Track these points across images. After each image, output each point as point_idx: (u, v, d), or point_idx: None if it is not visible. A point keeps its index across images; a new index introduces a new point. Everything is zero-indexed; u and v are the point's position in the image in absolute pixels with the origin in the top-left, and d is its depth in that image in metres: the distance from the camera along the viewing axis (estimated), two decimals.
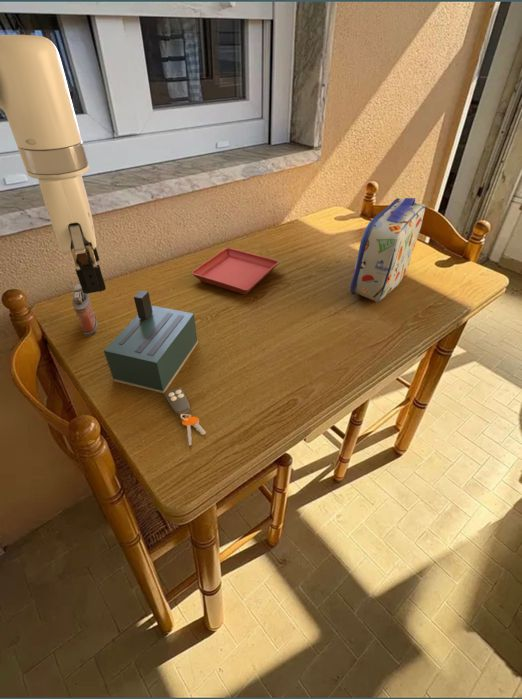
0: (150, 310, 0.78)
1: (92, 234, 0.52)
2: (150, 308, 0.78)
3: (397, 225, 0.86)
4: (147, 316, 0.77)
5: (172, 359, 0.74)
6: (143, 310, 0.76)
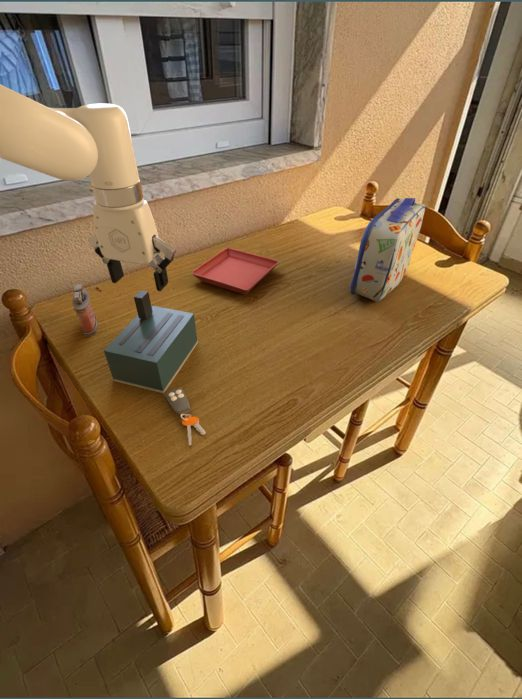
0: (150, 310, 0.78)
1: None
2: (150, 308, 0.78)
3: (397, 225, 0.86)
4: (147, 316, 0.77)
5: (172, 359, 0.74)
6: (143, 310, 0.76)
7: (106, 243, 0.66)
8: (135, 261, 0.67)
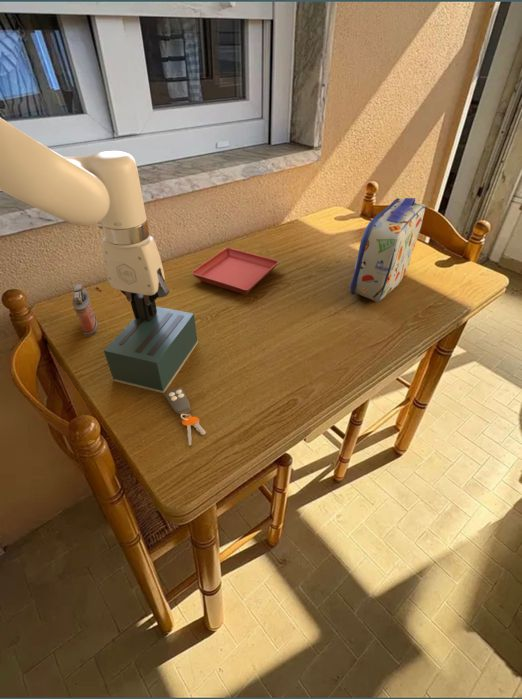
0: None
1: (163, 273, 0.73)
2: None
3: (397, 225, 0.86)
4: None
5: (172, 359, 0.74)
6: (143, 310, 0.76)
7: (114, 275, 0.70)
8: (141, 292, 0.71)
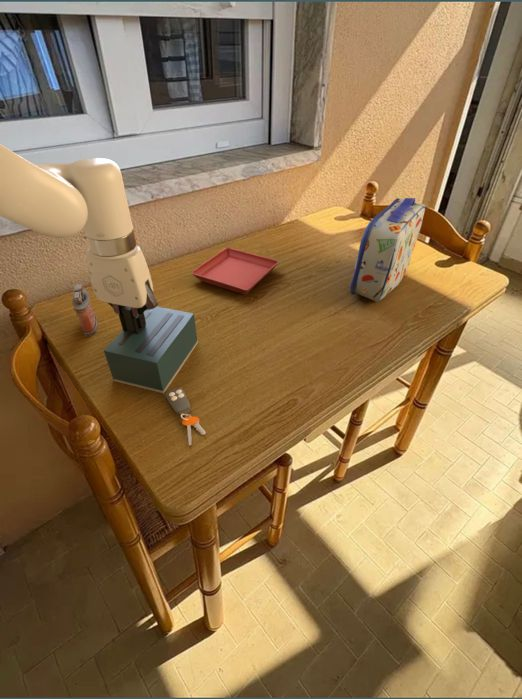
0: None
1: None
2: None
3: (397, 225, 0.86)
4: None
5: (172, 359, 0.74)
6: (131, 322, 0.73)
7: (100, 287, 0.67)
8: (128, 305, 0.68)
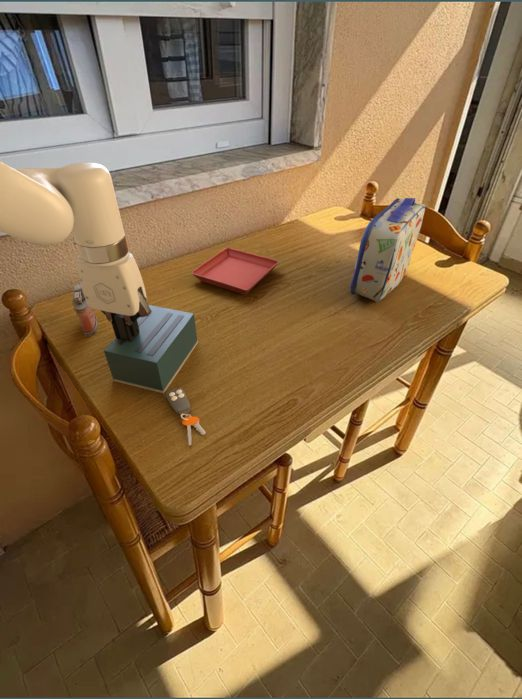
0: None
1: (145, 291, 0.68)
2: None
3: (397, 225, 0.86)
4: None
5: (172, 359, 0.74)
6: (124, 330, 0.71)
7: (91, 295, 0.66)
8: (121, 313, 0.66)
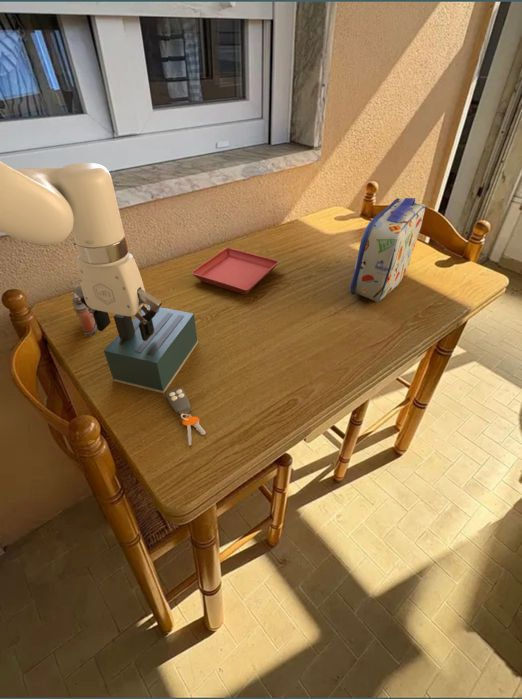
0: (132, 330, 0.73)
1: None
2: (132, 328, 0.73)
3: (397, 225, 0.86)
4: (128, 337, 0.72)
5: (172, 359, 0.74)
6: (124, 330, 0.71)
7: (91, 295, 0.65)
8: (120, 313, 0.66)
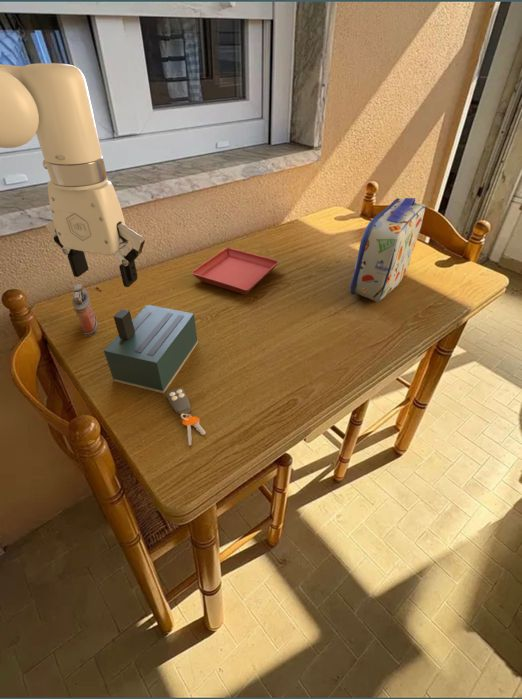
0: (132, 330, 0.73)
1: None
2: (132, 328, 0.73)
3: (397, 225, 0.86)
4: (128, 337, 0.72)
5: (172, 359, 0.74)
6: (124, 330, 0.71)
7: (64, 230, 0.58)
8: (97, 251, 0.58)
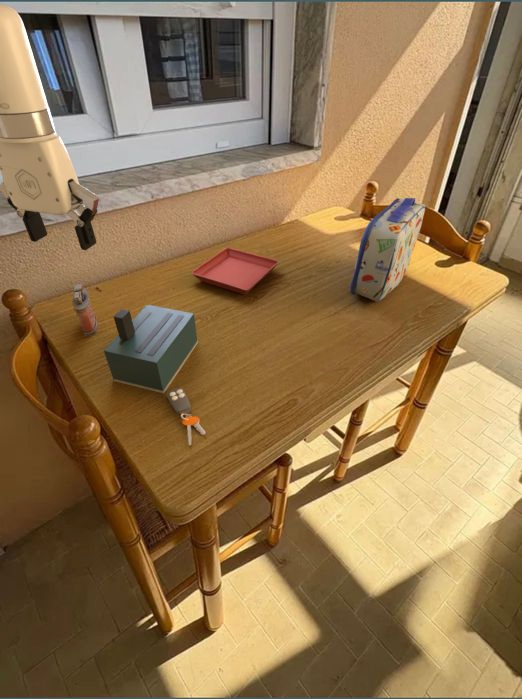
0: (132, 330, 0.73)
1: None
2: (132, 328, 0.73)
3: (397, 225, 0.86)
4: (128, 337, 0.72)
5: (172, 359, 0.74)
6: (124, 330, 0.71)
7: (14, 188, 0.56)
8: (50, 211, 0.56)
